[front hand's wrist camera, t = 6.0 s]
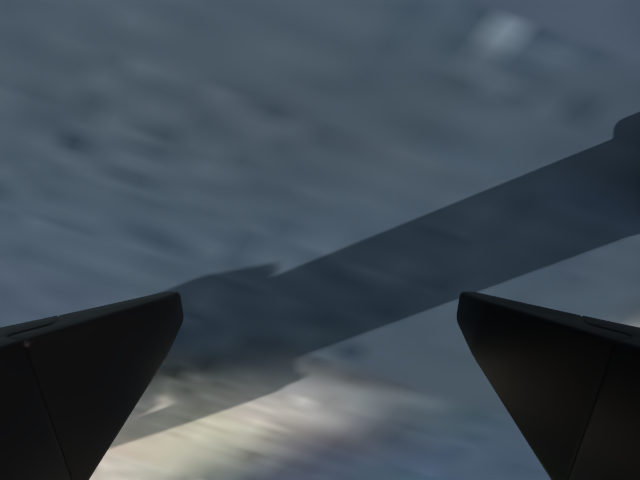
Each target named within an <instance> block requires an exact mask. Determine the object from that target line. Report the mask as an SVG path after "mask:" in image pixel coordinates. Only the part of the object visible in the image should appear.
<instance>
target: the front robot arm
mask: <svg viewBox="0 0 640 480" xmlns="http://www.w3.org/2000/svg"><path fill="white" fill-rule="evenodd" d="M182 322H183V310H182V304H181V297H180V294H179V293H178V292H163V293H159V294H154V295H150V296H145V297H141V298H136V299H132V300H127V301H123V302H118V303H114V304H109V305H105V306H100V307H96V308H91V309H87V310H82V311H78V312H73V313H69V314H64V315H60V316H59V317H58V316H53V317H49V318H44V319H39V320H35V321H30V322H25V323H21V324H16V325H11V326H6V327H1V328H0V480H89V479H90V477H91V476H92V474H93V472H94V471H95V469H96V468H97V466H98V464H99V463H100V461H101V460H102V458H103V456H104V455H105V453H106V452H107V450H108V449H109V447H110V445H111V444H112V442H113V441H114V439H115V437H116V436H117V434H118V433H119V431H120V430H121V428H122V426H123V425H124V423H125V422H126V420H127V418H128V417H129V415H130V414H131V412H132V410H133V409H134V407H135V406H136V404H137V403H138V401H139V399H140V398H141V396H142V395H143V393H144V391H145V390H146V388H147V387H148V385H149V384H150V382H151V380H152V379H153V377H154V376H155V374H156V372H157V371H158V369H159V368H160V366H161V364H162V363H163V361H164V360H165V358H166V356H167V354H168V352H169V350H170V348H171V346H172V344H173V342H174V340H175V338H176V335H177V333H178V331H179V329H180V327H181V325H182ZM457 322H458V325H459V327H460V329H461V331H462V333H463V335H464V338H465V340H466V342H467V344H468V346H469V348H470V350H471V352H472V354H473V356H474V358H475V360H476V361H477V363H478V364H479V366H480V368H481V369H482V371H483V372H484V374H485V376H486V377H487V379H488V380H489V382H490V383H491V385H492V387H493V388H494V390H495V391H496V393H497V395H498V396H499V398H500V399H501V401H502V403H503V404H504V406H505V407H506V409H507V410H508V412H509V414H510V415H511V417H512V418H513V420H514V422H515V423H516V425H517V426H518V428H519V429H520V431H521V433H522V434H523V436H524V437H525V439H526V441H527V442H528V444H529V445H530V447H531V449H532V450H533V452H534V453H535V455H536V456H537V458H538V460H539V461H540V463H541V464H542V466H543V468H544V469H545V471H546V472H547V474H548V476H549V477H550V479H551V480H640V328H639V327H634V326H629V325H624V324H619V323H615V322H610V321H605V320H601V319H596V318H591V317H587V316H582V317H581V316H580V315H576V314H571V313H567V312H562V311H558V310H553V309H549V308H544V307H540V306H535V305H531V304H526V303H522V302H517V301H513V300H508V299H504V298H499V297H495V296H490V295H486V294H481V293H477V292H462V293H461V294H460V297H459V304H458V310H457Z"/></svg>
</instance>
